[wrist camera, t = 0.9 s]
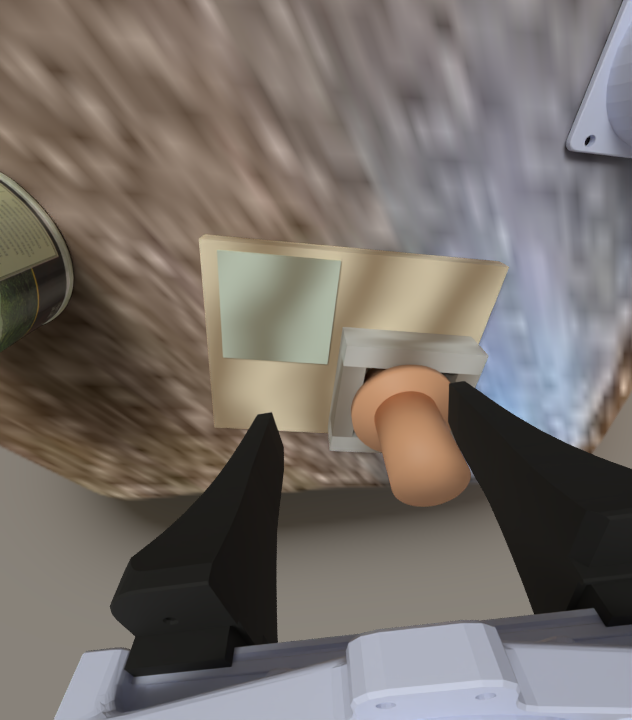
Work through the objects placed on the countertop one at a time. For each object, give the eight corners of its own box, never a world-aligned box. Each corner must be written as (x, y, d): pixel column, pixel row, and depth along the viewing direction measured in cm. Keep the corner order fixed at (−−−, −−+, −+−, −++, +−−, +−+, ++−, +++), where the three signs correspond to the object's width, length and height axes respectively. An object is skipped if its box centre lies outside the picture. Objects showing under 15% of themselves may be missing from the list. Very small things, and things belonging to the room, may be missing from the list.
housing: (499, 261, 21) (533, 280, 18) (436, 428, 28) (452, 463, 25) (204, 234, 20) (185, 249, 17) (217, 416, 27) (206, 451, 24)
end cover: (453, 347, 23) (521, 436, 16) (427, 423, 26) (472, 524, 19) (354, 340, 22) (377, 429, 15) (340, 418, 26) (354, 520, 19)
